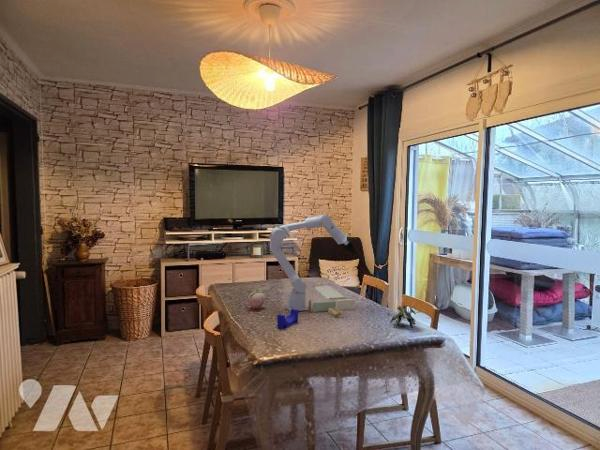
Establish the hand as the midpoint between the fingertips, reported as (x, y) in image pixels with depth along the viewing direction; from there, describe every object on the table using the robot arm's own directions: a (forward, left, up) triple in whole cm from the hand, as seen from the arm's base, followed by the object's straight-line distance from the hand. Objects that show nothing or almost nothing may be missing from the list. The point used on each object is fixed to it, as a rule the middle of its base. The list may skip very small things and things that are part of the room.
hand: (352, 251), depth 202 cm
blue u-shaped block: (-41, -20, -30) cm, 55 cm away
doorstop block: (-14, -11, -30) cm, 35 cm away
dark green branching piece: (+7, -37, -30) cm, 48 cm away
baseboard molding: (0, +33, -30) cm, 45 cm away
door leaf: (-17, -3, -29) cm, 34 cm away
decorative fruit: (-50, +9, -30) cm, 58 cm away
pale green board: (-13, -4, -29) cm, 32 cm away
